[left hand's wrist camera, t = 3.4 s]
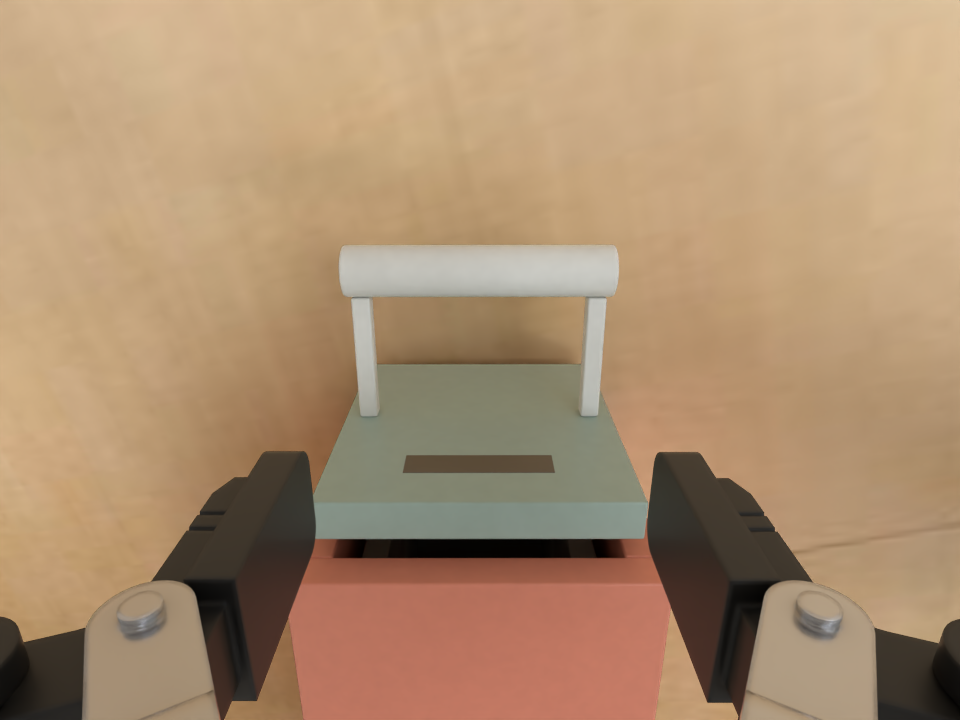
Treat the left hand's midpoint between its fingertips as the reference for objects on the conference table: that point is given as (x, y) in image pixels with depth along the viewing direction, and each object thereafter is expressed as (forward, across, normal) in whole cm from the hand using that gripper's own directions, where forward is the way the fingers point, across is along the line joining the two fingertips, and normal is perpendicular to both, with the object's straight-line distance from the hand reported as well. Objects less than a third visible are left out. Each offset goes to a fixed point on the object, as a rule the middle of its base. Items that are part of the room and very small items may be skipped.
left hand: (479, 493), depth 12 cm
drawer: (+14, 0, +10) cm, 17 cm away
